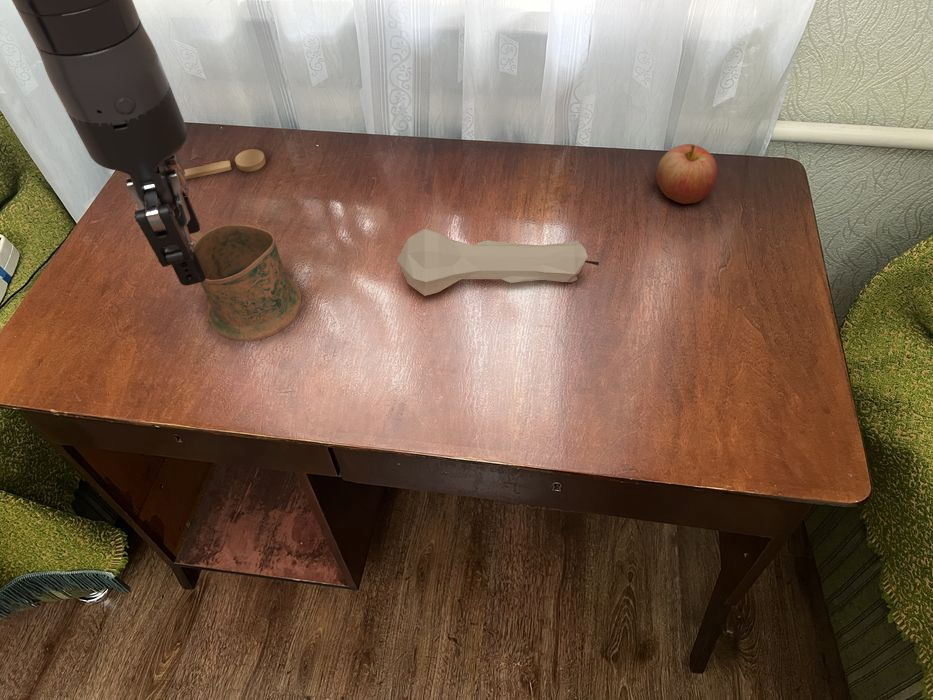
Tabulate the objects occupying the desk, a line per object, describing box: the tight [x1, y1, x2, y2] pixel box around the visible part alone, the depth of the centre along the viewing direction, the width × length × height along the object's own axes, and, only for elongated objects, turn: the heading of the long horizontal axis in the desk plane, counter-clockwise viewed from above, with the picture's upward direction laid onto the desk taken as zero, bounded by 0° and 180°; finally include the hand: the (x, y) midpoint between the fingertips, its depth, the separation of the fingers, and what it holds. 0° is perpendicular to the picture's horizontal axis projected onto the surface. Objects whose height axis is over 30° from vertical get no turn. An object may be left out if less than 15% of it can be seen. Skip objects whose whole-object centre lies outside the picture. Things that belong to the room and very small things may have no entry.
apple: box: [655, 143, 718, 205], centre depth 95 cm, size 8×8×8 cm
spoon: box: [184, 148, 267, 181], centre depth 105 cm, size 15×4×1 cm, turn 108°
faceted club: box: [396, 227, 600, 297], centre depth 86 cm, size 9×8×25 cm
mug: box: [190, 223, 302, 342], centre depth 84 cm, size 12×18×12 cm, turn 59°
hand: (191, 255), depth 64 cm, fingers open, 6 cm apart
